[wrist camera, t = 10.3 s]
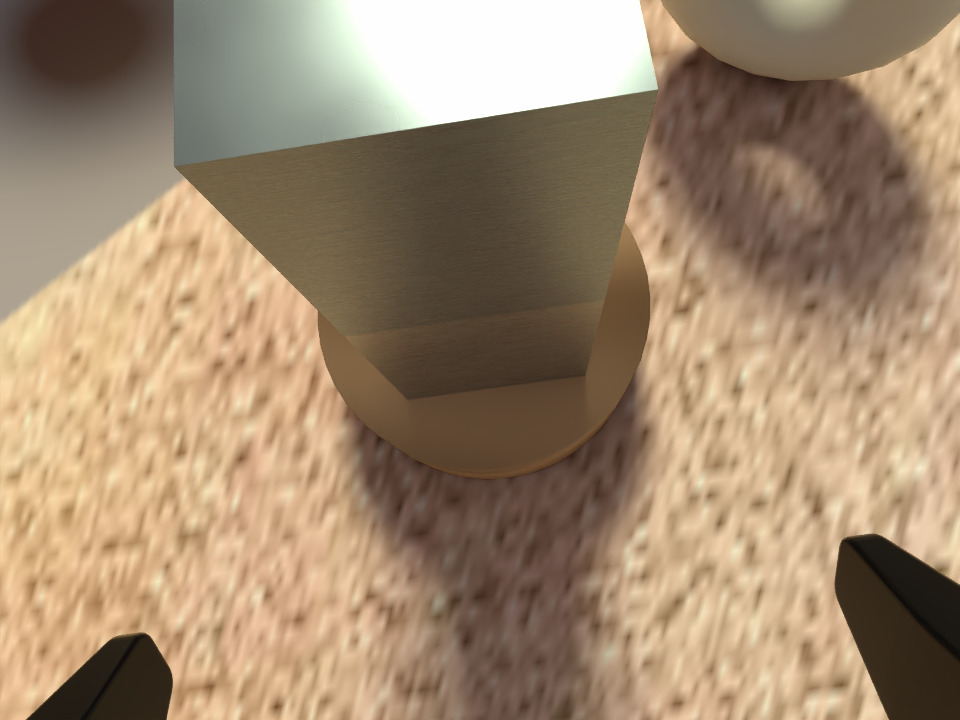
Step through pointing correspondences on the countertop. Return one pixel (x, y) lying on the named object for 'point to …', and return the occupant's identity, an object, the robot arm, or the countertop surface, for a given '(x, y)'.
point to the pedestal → (506, 394)
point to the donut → (810, 33)
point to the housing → (425, 168)
